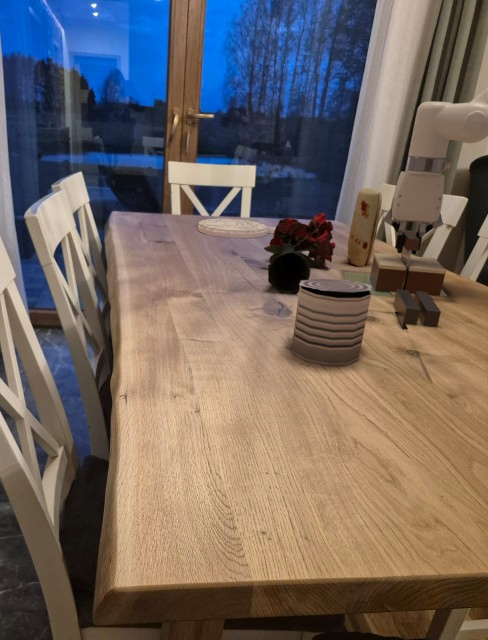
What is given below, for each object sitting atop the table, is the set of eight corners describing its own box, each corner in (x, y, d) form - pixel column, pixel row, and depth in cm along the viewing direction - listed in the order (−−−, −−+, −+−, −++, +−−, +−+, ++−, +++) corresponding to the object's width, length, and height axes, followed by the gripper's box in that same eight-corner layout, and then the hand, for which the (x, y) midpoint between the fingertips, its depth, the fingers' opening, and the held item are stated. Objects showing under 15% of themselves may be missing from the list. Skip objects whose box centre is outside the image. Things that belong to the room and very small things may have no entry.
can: (290, 362, 91) (300, 288, 86) (289, 338, 101) (298, 270, 96) (364, 369, 90) (379, 294, 84) (355, 344, 100) (367, 276, 95)
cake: (428, 282, 139) (434, 258, 137) (439, 297, 128) (446, 270, 125) (396, 279, 141) (401, 255, 138) (404, 293, 129) (410, 267, 126)
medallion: (191, 224, 203) (192, 217, 202) (264, 226, 208) (265, 219, 207) (205, 237, 182) (206, 230, 181) (286, 238, 187) (287, 231, 186)
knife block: (392, 307, 122) (396, 289, 120) (423, 310, 121) (427, 292, 119) (402, 328, 109) (406, 308, 107) (436, 332, 108) (441, 311, 106)
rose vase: (288, 326, 131) (287, 280, 161) (360, 280, 124) (345, 240, 154) (248, 271, 126) (254, 234, 156) (321, 220, 119) (313, 191, 149)
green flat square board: (434, 283, 143) (434, 280, 142) (451, 306, 125) (452, 302, 125) (343, 275, 146) (344, 271, 146) (348, 295, 128) (348, 292, 128)
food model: (342, 261, 161) (355, 185, 152) (366, 263, 160) (380, 187, 151) (345, 269, 152) (359, 189, 143) (371, 271, 151) (387, 191, 142)
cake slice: (393, 279, 141) (398, 255, 138) (400, 293, 129) (406, 266, 127) (369, 277, 142) (374, 252, 139) (374, 291, 130) (380, 264, 127)
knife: (391, 277, 140) (400, 229, 135) (401, 278, 140) (411, 230, 135) (397, 290, 129) (408, 238, 124) (408, 291, 129) (420, 239, 124)
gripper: (459, 167, 125) (439, 252, 133) (383, 163, 128) (368, 246, 136) (468, 170, 119) (446, 259, 127) (387, 165, 121) (371, 253, 129)
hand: (406, 252), depth 131 cm, fingers closed on knife, 2 cm apart
